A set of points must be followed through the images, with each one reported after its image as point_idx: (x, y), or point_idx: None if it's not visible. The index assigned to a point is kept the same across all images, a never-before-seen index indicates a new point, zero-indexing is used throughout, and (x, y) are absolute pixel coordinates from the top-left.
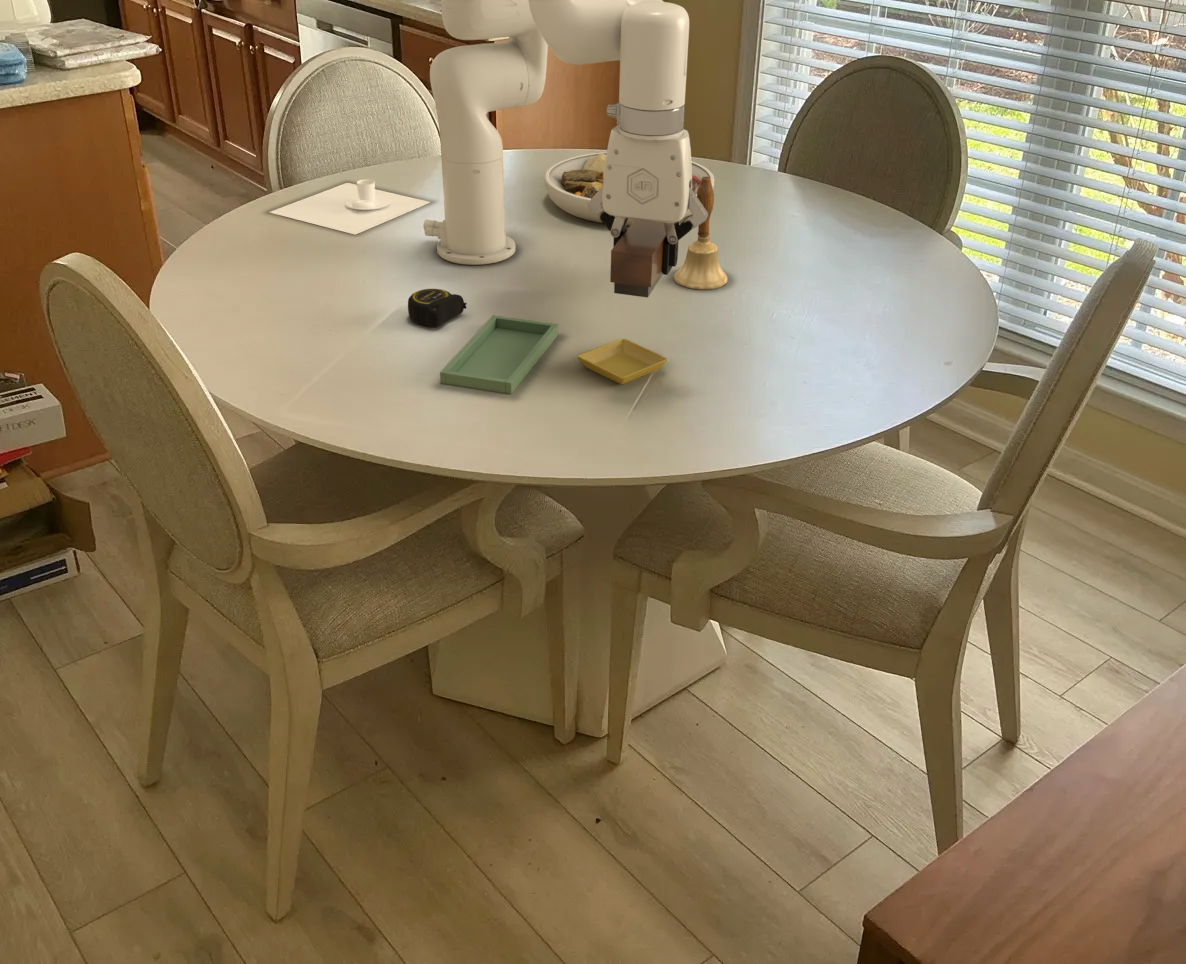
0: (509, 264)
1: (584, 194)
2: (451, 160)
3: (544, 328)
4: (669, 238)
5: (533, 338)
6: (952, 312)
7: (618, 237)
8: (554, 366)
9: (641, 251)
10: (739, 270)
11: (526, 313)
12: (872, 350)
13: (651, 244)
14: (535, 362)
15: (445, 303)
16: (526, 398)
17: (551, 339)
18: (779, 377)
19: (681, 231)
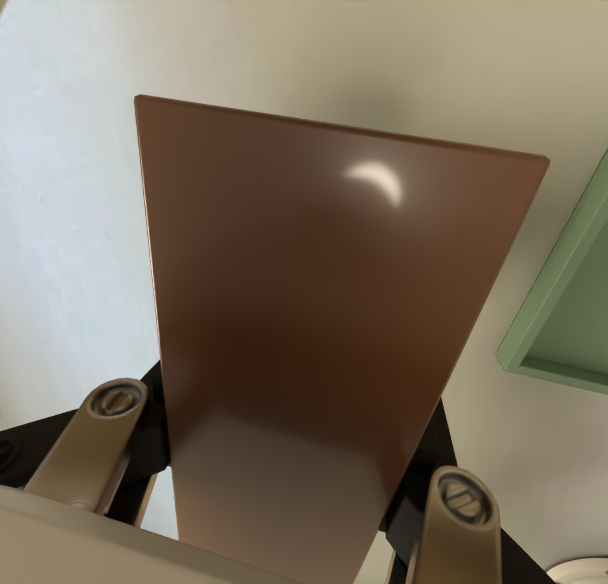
0: (554, 552)
1: None
2: None
3: (529, 363)
4: (135, 410)
5: (549, 342)
6: (28, 411)
7: (434, 464)
8: (513, 249)
9: (241, 179)
10: None
11: (546, 428)
12: (65, 330)
13: (205, 331)
14: (560, 246)
15: None
16: (601, 87)
17: (516, 331)
18: (143, 248)
19: (46, 440)
